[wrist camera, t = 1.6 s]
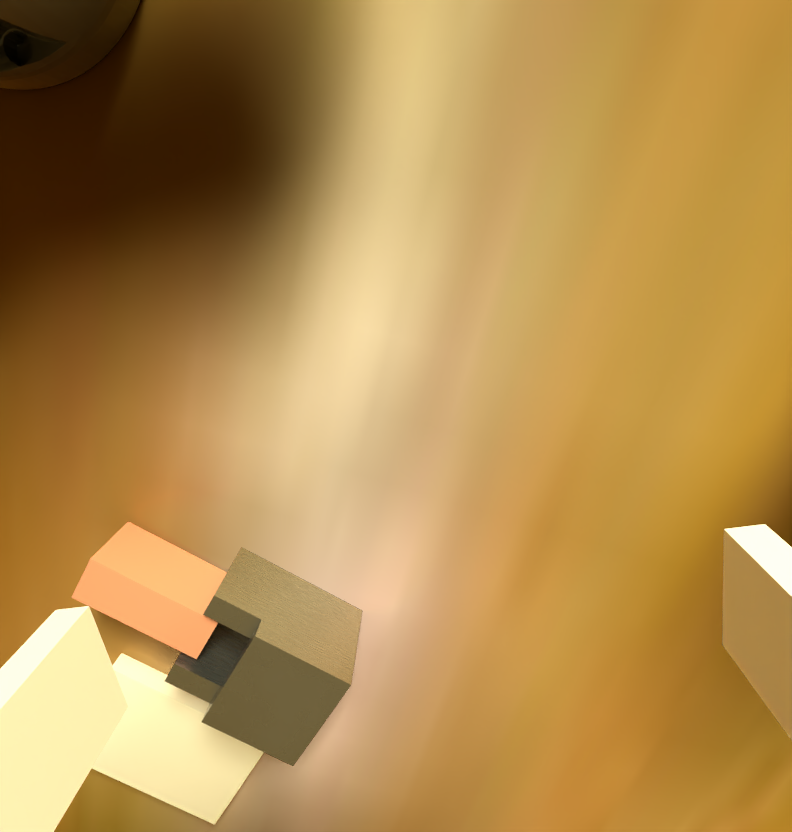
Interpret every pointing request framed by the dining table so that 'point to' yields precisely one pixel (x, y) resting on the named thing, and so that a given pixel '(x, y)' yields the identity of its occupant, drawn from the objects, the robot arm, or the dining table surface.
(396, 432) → the dining table surface
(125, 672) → the block
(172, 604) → the key
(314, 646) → the housing
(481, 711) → the dining table surface
